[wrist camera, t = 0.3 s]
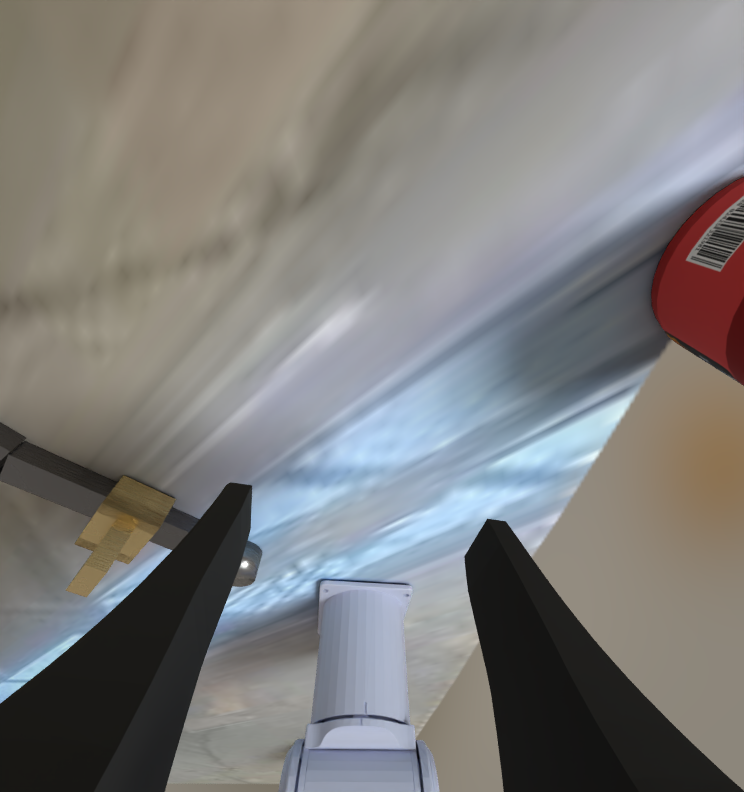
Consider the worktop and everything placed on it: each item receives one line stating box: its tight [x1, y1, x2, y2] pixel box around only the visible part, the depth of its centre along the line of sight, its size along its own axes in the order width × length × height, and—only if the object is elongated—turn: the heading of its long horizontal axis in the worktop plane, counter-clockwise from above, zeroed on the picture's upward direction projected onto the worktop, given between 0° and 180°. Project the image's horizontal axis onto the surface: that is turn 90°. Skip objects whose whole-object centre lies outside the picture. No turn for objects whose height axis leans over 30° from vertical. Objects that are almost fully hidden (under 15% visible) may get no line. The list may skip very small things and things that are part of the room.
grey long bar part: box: [0, 423, 262, 587], centre depth 23 cm, size 30×9×2 cm, turn 49°
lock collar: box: [66, 475, 176, 597], centre depth 23 cm, size 4×5×5 cm, turn 139°
